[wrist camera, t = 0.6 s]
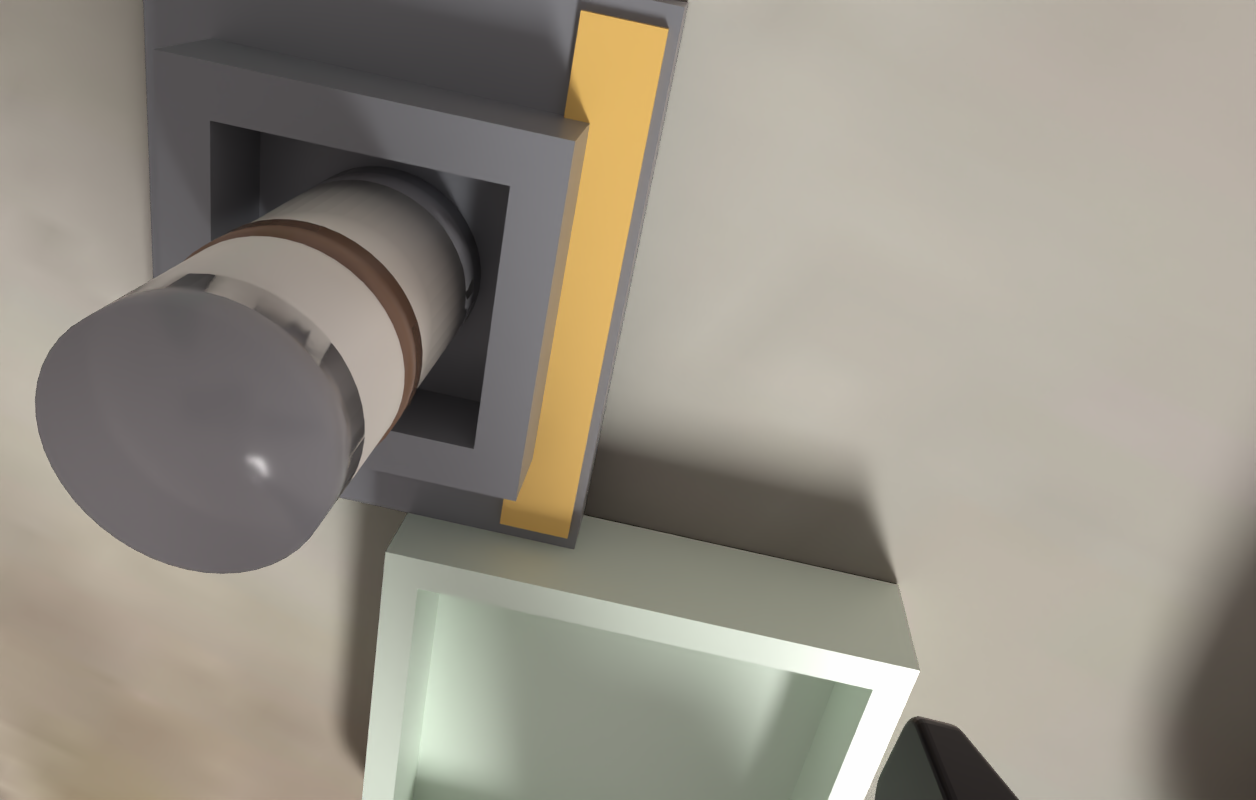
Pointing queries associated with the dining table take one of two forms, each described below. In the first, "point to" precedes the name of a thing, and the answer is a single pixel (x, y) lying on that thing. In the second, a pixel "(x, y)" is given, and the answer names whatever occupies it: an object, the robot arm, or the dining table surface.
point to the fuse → (258, 371)
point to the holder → (468, 176)
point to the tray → (627, 670)
